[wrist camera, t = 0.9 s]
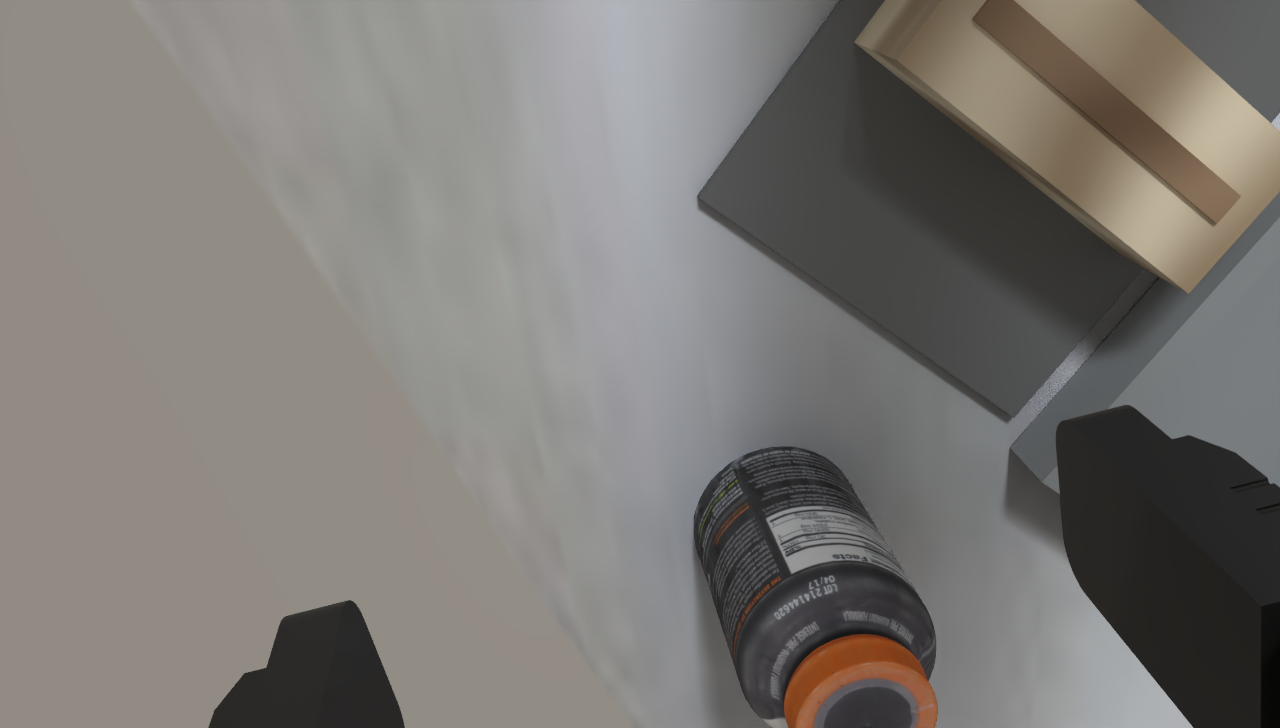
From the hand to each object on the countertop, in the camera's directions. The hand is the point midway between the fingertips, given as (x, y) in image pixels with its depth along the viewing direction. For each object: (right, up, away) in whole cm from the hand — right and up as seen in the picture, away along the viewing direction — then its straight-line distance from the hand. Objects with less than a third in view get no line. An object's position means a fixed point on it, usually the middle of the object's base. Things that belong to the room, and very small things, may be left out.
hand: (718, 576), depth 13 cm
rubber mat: (+12, +11, +23) cm, 28 cm away
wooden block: (+12, +11, +23) cm, 28 cm away
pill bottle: (+4, -3, +28) cm, 29 cm away
